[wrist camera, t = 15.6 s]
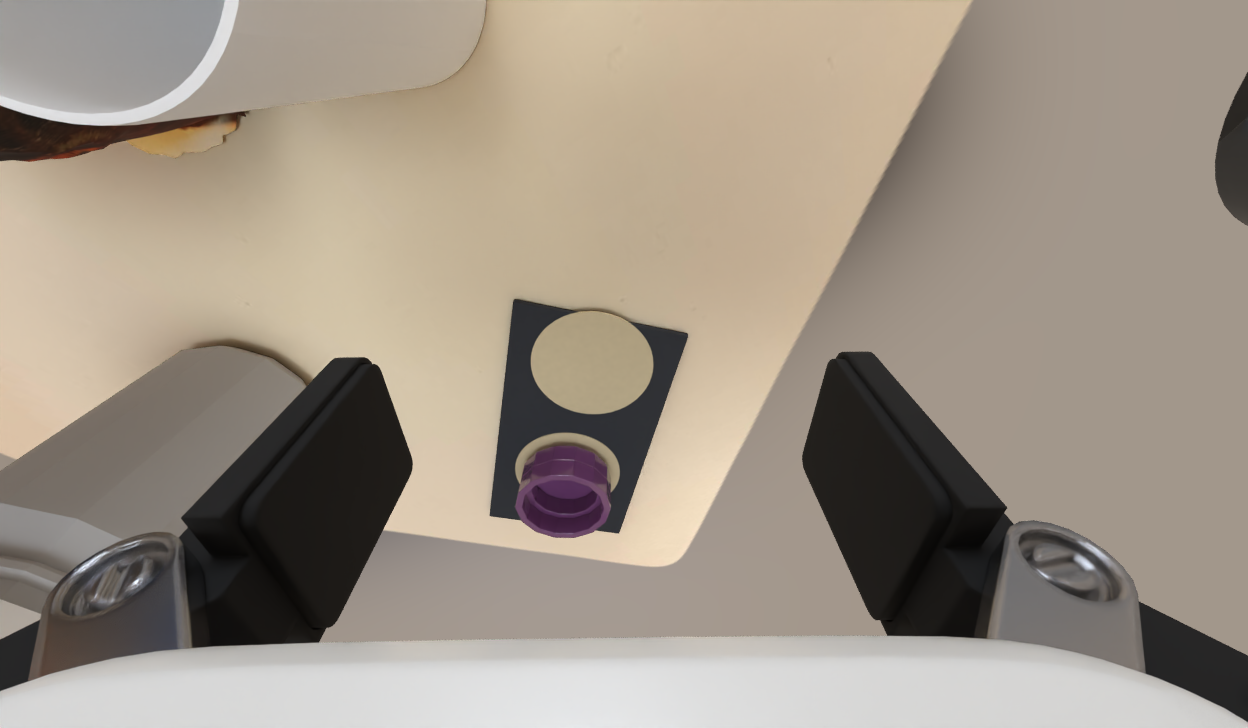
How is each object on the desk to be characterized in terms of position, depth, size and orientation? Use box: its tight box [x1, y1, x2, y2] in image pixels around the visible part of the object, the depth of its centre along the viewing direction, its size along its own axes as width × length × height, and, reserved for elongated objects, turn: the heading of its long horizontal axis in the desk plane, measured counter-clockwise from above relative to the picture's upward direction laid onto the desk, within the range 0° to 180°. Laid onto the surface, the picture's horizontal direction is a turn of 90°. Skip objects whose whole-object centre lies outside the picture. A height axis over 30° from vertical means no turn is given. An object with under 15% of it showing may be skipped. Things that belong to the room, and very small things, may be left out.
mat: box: [490, 299, 688, 533], centre depth 34 cm, size 20×11×1 cm, turn 167°
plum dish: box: [515, 445, 611, 538], centre depth 34 cm, size 7×7×3 cm
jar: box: [0, 346, 307, 639], centre depth 24 cm, size 10×10×18 cm
